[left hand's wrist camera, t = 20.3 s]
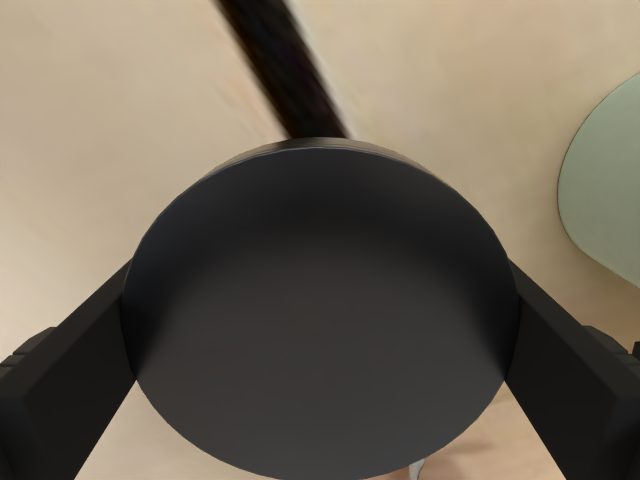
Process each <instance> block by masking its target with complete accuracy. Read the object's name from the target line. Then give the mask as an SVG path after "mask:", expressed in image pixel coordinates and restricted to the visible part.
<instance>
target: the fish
mask: <svg viewBox="0 0 640 480" xmlns="http://www.w3.org/2000/svg"><path fill="white" fill-rule="evenodd" d="M424 463H425V459H422V460H420V461H418V462H415V463H413V464H411V465H409V478H410V479H409V480H418V477H419V473H420V471H421V468H422V466H423V465H424ZM360 480H363V479H360Z"/></svg>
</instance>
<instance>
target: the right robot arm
mask: <svg viewBox="0 0 640 480" xmlns="http://www.w3.org/2000/svg"><path fill="white" fill-rule="evenodd" d="M632 355H633V356H634V357H635V358H636V359H638V360H639V361H640V341H639V342H635V344H634V348H633V352H632Z"/></svg>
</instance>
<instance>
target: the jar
mask: <svg viewBox="0 0 640 480" xmlns="http://www.w3.org/2000/svg"><path fill="white" fill-rule="evenodd" d="M558 206H559V212H560V216H561V220H562V223H563V225H564V228H565V230H566V232H567V233H568V235H569V237H570V238H571V240H572V241H573V242H574V243H575V245H576V246H577V247H578V248H579V249H580V250H581V251H583V252H584V253H585V254H586V255H588V256H589V257H591V258H592V259H594V260H596V261H597V262H599V263H600V264H602V265H603V266H605V267H607V268H608V269H610V270H611V271H613V272H614V273H616V274H617V275H619V276H621V277H622V278H624V279H625V280H627V281H628V282H630V283H632V284H633V285H635V286H636V287H638V288H639V289H640V73H638V74H636V75H634V76H633V77H631V78H630V79H628V80H627V81H625V82H624V83H623V84H621V85H620V86H618V87H617V88H616V89H615V90H614V91H613V92H611V93H610V94H609V95H608V96H607V97H606V98H605V99H604V100H603V101H602V102H601V103H600V104H599V105H598V106H597V107H596V108H595V109H594V110H593V111H592V112H591V114H590V115H589V116H588V118H587V119H586V120H585V122H584V123H583V124H582V126H581V127H580V129H579V131H578V132H577V134H576V135H575V137H574V139H573V141H572V143H571V145H570V147H569V149H568V151H567V153H566V156H565V159H564V162H563V165H562V168H561V173H560V178H559V184H558Z"/></svg>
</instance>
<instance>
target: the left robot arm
mask: <svg viewBox="0 0 640 480" xmlns="http://www.w3.org/2000/svg"><path fill="white" fill-rule="evenodd" d="M508 259H509V258H508ZM131 260H132V259H130V260H129V261H128V262H127V263H126V264H125V265H124V266H123V267H122V268H121V269H120V270H118V271H117V272H116V273H115V274H114V275H113V276H112V277H111V278H110V279H109V280H108V281H106V282H105V283H104V284H103V285H102V286H101V287H100V288H99V289H98V290H97V291H95V292H94V293H93V294H92V295H91V296H90V297H89V298H88V299H87V300H86V301H85V302H83V303H82V304H81V305H80V306H79V307H78V308H77V309H76V310H75V311H74V312H73V313H71V314H70V315H69V316H68V317H67V318H66V319H65V320H64V321H63V322H62V323H61V324H59V325H58V326H57V327H49V328H47V329H46V330H44V331H42V332H40V333H38V334H37V335H35V336H33V337H31V338H29V339H28V340H27V341H26V342H25V343H23V344H22V345H21V346H20V347H19V348H18V349H16V350H15V351H14V352H13V355H10V356H8V357H7V358H6V359H5V360H4V361H3V362H1V363H0V480H74V479H75V477H76V476H77V474H78V472H79V471H80V469H81V468H82V466H83V464H84V463H85V461H86V460H87V458H88V456H89V455H90V453H91V452H92V450H93V448H94V447H95V445H96V444H97V442H98V440H99V439H100V437H101V436H102V434H103V432H104V431H105V429H106V428H107V426H108V424H109V423H110V421H111V420H112V418H113V416H114V415H115V413H116V412H117V410H118V408H119V407H120V405H121V404H122V402H123V400H124V399H125V397H126V396H127V394H128V392H129V391H130V389H131V388H132V386H133V384H134V383H135V381H136V378H135V376H134V374H133V372H132V369H131V366H130V363H129V360H128V357H127V353H126V349H125V344H124V340H123V335H122V329H121V302H122V295H123V288H124V282H125V278H126V275H127V272H128V269H129V266H130V263H131ZM509 262H510V265H511V268H512V270H513V273H514V276H515V281H516V286H517V291H518V296H519V316H520V323H519V331H518V337H517V342H516V347H515V351H514V355H513V359H512V363H511V365H510V368H509V370H508V372H507V374H506V377H505V379H504V381H505V382H506V384H507V386H508V387H509V389H510V390H511V392H512V394H513V395H514V397H515V398H516V400H517V402H518V403H519V405H520V406H521V408H522V410H523V411H524V413H525V414H526V416H527V418H528V419H529V421H530V422H531V424H532V426H533V427H534V429H535V430H536V432H537V434H538V435H539V437H540V438H541V440H542V442H543V443H544V445H545V446H546V448H547V450H548V451H549V453H550V454H551V456H552V458H553V459H554V461H555V462H556V464H557V466H558V467H559V469H560V470H561V472H562V474H563V475H564V477H565V478H566V480H640V361H639V360H638V359H636V358H635V357H634V356H633V355H632V354H628V351H627V350H626V349H625V348H624V347H622V346H621V345H620V344H619V343H618V342H617V341H615V340H614V339H613V338H612V337H610V336H608V335H607V334H605V333H603V332H601V331H599V330H597V329H596V328H594V327H592V326H582V325H581V324H580V323H579V322H578V321H576V320H575V319H574V318H573V317H572V316H571V315H570V314H569V313H568V312H567V311H566V310H564V309H563V308H562V307H561V306H560V305H559V304H558V303H557V302H556V301H555V300H554V299H552V298H551V297H550V296H549V295H548V294H547V293H546V292H545V291H544V290H543V289H542V288H540V287H539V286H538V285H537V284H536V283H535V282H534V281H533V280H532V279H531V278H529V277H528V276H527V275H526V274H525V273H524V272H523V271H522V270H521V269H520V268H519V267H517V266H516V265H515V264H514V263H513V262H512V261H511V260H510V259H509Z"/></svg>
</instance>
